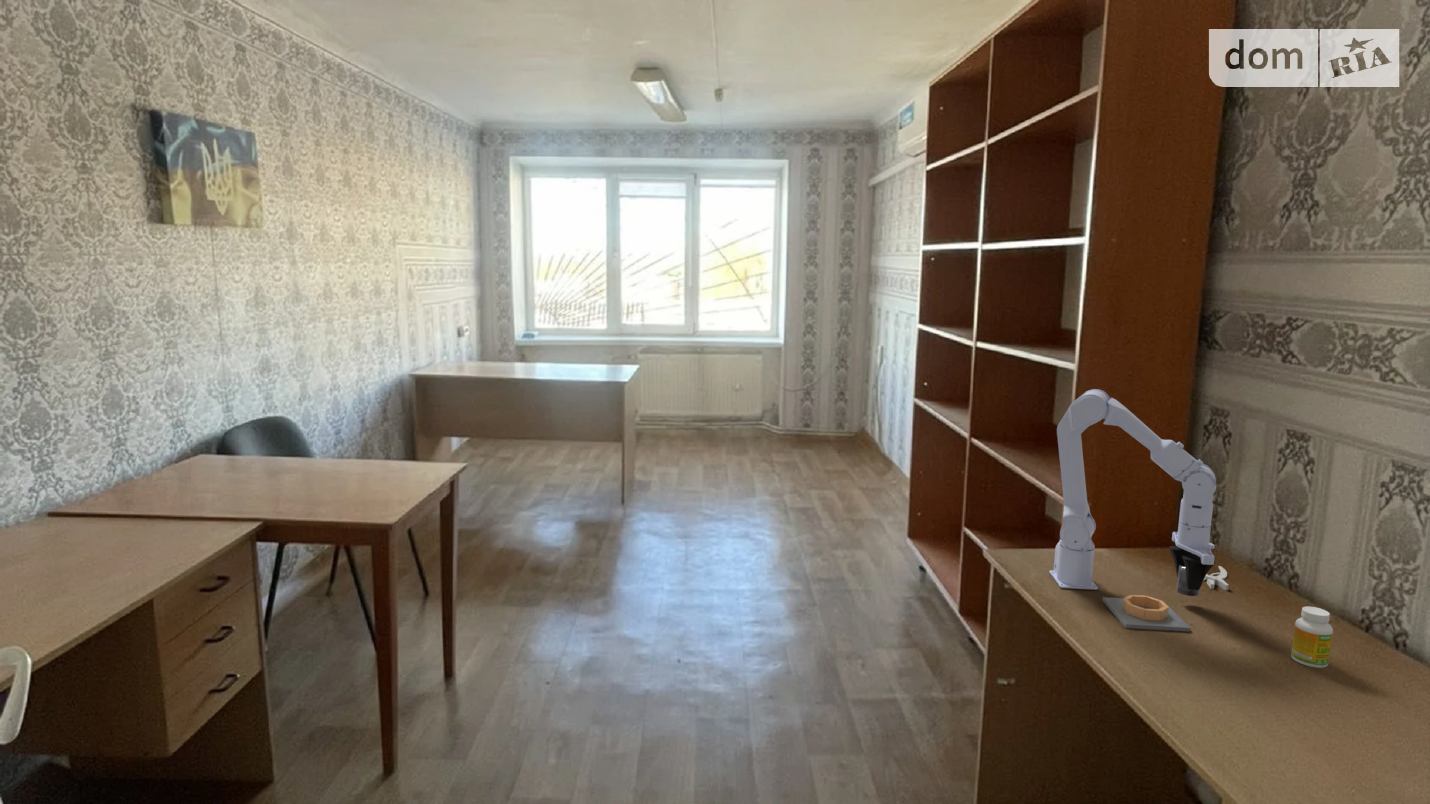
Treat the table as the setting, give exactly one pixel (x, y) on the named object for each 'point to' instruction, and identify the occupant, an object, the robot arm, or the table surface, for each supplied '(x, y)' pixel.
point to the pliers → (1217, 579)
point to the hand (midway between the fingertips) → (1188, 584)
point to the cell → (1184, 583)
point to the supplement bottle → (1312, 638)
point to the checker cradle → (1145, 613)
